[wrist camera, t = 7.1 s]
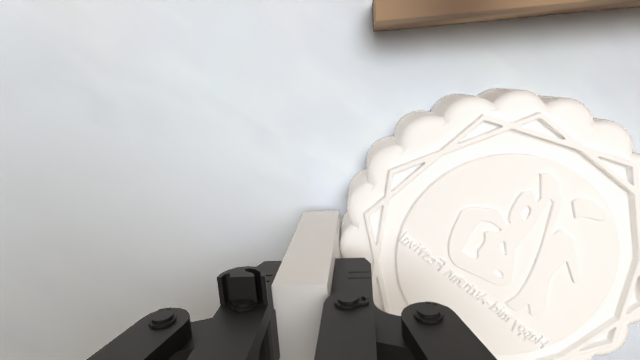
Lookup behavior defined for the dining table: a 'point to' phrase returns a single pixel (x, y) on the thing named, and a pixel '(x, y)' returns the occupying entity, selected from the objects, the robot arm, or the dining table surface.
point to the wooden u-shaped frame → (476, 10)
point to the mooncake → (505, 222)
